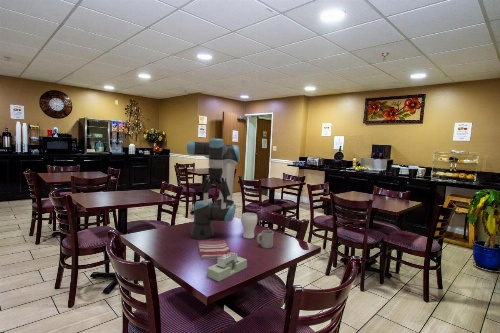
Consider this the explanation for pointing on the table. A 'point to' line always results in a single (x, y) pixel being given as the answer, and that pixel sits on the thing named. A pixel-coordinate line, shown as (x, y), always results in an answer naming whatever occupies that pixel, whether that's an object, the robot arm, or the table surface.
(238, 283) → the table surface
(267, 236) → the cup
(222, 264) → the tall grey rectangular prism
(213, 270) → the rail
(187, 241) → the table surface
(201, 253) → the dish towel
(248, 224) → the cup
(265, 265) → the table surface
